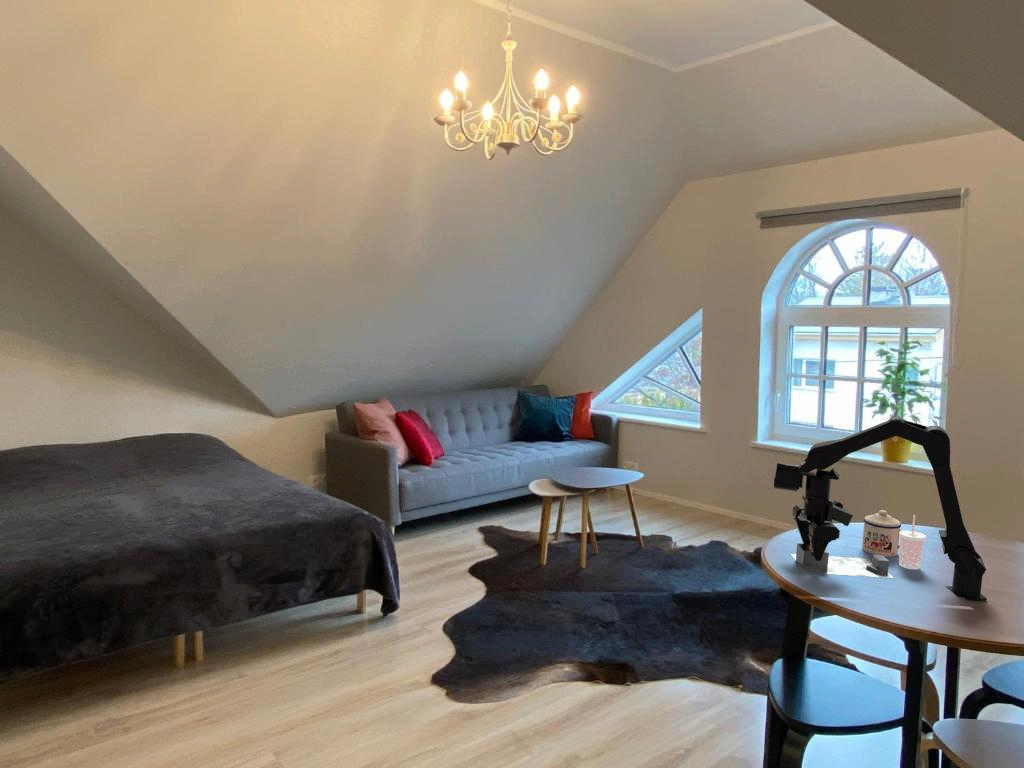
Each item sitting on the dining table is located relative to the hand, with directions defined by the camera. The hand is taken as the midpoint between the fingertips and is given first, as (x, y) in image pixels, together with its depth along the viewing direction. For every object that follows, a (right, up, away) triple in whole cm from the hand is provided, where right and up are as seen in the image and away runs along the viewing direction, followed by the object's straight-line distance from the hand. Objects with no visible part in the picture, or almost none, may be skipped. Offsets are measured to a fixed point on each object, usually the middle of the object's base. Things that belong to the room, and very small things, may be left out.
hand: (812, 554), depth 188 cm
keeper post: (0, -3, 0) cm, 4 cm away
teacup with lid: (+25, -3, +12) cm, 28 cm away
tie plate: (+7, -4, +1) cm, 8 cm away
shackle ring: (0, -3, 0) cm, 3 cm away
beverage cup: (+26, -4, +2) cm, 26 cm away
